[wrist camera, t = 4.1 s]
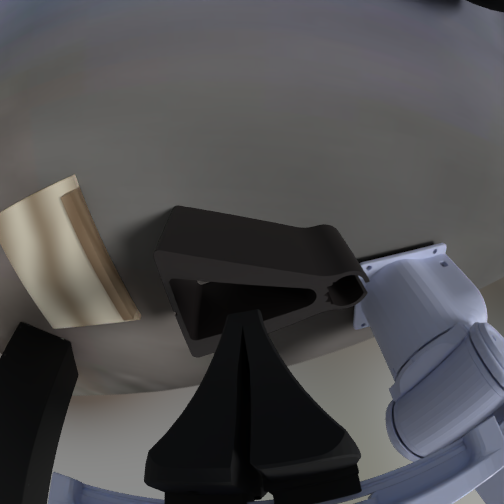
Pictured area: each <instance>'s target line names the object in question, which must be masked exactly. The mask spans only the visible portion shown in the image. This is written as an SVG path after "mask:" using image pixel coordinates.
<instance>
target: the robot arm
mask: <svg viewBox="0 0 504 504" xmlns="http://www.w3.org/2000/svg"><path fill="white" fill-rule="evenodd" d="M445 252H446V245H445V244H444V243H439V244H435V245H431V246H427V247H423V248H419V249H415V250H411V251H407V252H403V253H399V254H395V255H391V256H386V257H382V258H378V259H374V260H369V261H365V262H361V263H359V264H360V265H361V267H362V268H363V270H364V272H365V273H366V275H367V276H368V278H369V280H370V282H367V283H365V281H364V280H363V278H362V277H360V276H358V277H359V278H360V280H361V282H362V284H363V285H364V287H365V289H366V291H367V292H368V293H367V295H366V296H365V298H364V299H363V300H362V301H360V302H359V303H358V304H356V305H355V307H354V319H353V327H354V329H361V328H365V327H368V326H370V328H371V330H372V332H373V334H374V336H375V339H376V341H377V343H378V345H379V347H380V349H381V351H382V354H383V356H384V358H385V360H386V362H387V365H388V367H389V369H390V371H391V374H392V376H393V378H394V381H395V383H394V385H393V386H392V387H391V388H389V391H390V393H391V395H392V398H393V400H392V401H391V402H390V404H389V405H388V407H387V410H386V428H387V433H388V436H389V439H390V441H391V443H392V444H393V446H394V448H395V449H396V450H397V451H398V452H399V453H400V454H401V455H402V456H404V457H405V458H407V459H408V460H411V461H413V463H411V464H408V465H406V466H403V467H401V468H398V469H396V470H394V471H391V472H388V473H385V474H382V475H380V476H377V477H374V478H371V479H368V480H364V481H361V482H360V481H359V476H358V473H359V470H358V466H357V462H358V461H359V459H360V458H361V453H360V451H359V449H358V447H357V445H356V443H355V442H354V441H353V439H352V438H351V436H350V435H349V434H348V432H347V431H346V430H345V429H344V428H343V427H342V426H341V425H339V424H338V423H337V422H336V421H335V420H334V419H333V418H331V417H330V416H329V415H328V414H327V413H326V412H325V411H324V410H323V409H322V408H321V407H320V406H319V405H318V404H317V403H316V402H315V401H314V400H313V399H312V398H311V396H310V395H309V394H308V393H307V392H306V391H305V390H304V388H303V387H302V386H301V385H300V384H299V382H298V381H297V380H296V379H295V377H294V376H293V375H292V373H291V372H290V370H289V369H288V367H287V366H286V365H285V363H284V361H283V360H282V358H281V357H280V355H279V353H278V352H277V350H276V348H275V346H274V345H273V343H272V341H271V339H270V337H269V335H268V333H267V330H266V328H265V326H264V322H263V318H262V314H261V311H260V310H258V309H256V310H251V311H245V312H239V313H234V314H229V315H228V316H227V317H226V322H225V325H224V329H223V332H222V335H221V338H220V341H219V344H218V346H217V349H216V351H215V354H214V357H213V359H212V361H211V363H210V366H209V368H208V370H207V372H206V374H205V376H204V378H203V380H202V382H201V384H200V386H199V387H198V389H197V391H196V393H195V394H194V396H193V398H192V399H191V401H190V402H189V404H188V405H187V407H186V408H185V410H184V411H183V413H182V414H181V415H180V417H179V418H178V419H177V420H176V422H175V423H174V424H173V425H172V427H171V428H170V429H169V430H168V432H167V433H166V434H165V435H164V436H163V437H162V438H161V439H160V440H159V441H158V442H157V443H156V444H155V445H154V446H153V447H152V448H151V449H150V450H149V452H148V456H147V460H146V466H145V476H144V482H145V483H146V484H147V485H148V486H150V487H152V488H155V489H158V490H160V491H163V492H165V500H161V499H153V498H146V497H140V496H134V495H129V494H123V493H119V492H114V491H109V490H105V489H101V488H97V487H93V486H90V485H86V484H83V483H82V482H80V481H78V480H75V479H73V478H70V477H68V476H65V475H62V474H59V473H56V472H53V475H52V480H51V487H50V493H49V500H48V504H338V503H342V502H345V501H349V500H353V499H356V498H360V497H363V496H366V495H369V494H371V495H370V496H369V497H368V500H364V501H361V502H358V503H355V504H453V503H454V502H456V501H458V500H459V499H461V498H462V497H464V496H465V495H467V494H468V493H469V492H471V491H472V490H474V489H475V490H476V491H477V492H478V494H479V495H480V496H481V498H482V499H483V501H484V502H485V503H486V504H504V338H503V337H502V336H501V334H500V333H498V331H497V330H496V329H494V327H492V326H491V325H490V324H488V323H487V309H486V305H485V302H484V299H483V297H482V295H481V293H480V291H479V290H478V289H477V287H476V286H475V285H474V284H473V283H472V282H471V281H470V279H469V278H468V277H467V276H466V275H465V274H464V273H463V272H462V271H461V270H460V268H459V267H458V266H457V265H456V264H455V263H454V262H453V261H452V260H451V259H450V258H449V257H448V256H447V255H446V254H445ZM367 266H369V267H368V268H367ZM267 492H269V493H271V494H272V495H273V498H274V500H266V501H254V500H260V499H261V498H262V497H264V495H266V493H267Z"/></svg>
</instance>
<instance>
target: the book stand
mask: <svg viewBox="0 0 504 504" xmlns="http://www.w3.org/2000/svg"><path fill="white" fill-rule="evenodd" d="M0 244H1V246H2V247H3V249H4V251H5V253H6V255H7V257H8V259H9V261H10V263H11V264H12V266H13V268H14V270H15V271H16V273H17V275H18V277H19V278H20V280H21V282H22V283H23V285H24V286H25V288H26V290H27V291H28V293H29V294H30V296H31V297H32V299H33V300H34V302H35V303H36V305H37V306H38V308H39V309H40V311H41V312H42V314H43V315H44V316H45V318H46V319H47V321H48V322H49V323H50V325H51V326H52V327H53V329H58V328H69V327H80V326H90V325H99V324H108V323H117V322H125V321H133V320H140V319H141V314H140V312H139V311H138V309H137V307H136V305H135V304H134V302H133V300H132V298H131V297H130V295H129V293H128V291H127V289H126V287H125V286H124V284H123V282H122V280H121V278H120V276H119V274H118V272H117V270H116V268H115V266H114V264H113V262H112V260H111V258H110V256H109V254H108V252H107V250H106V248H105V246H104V244H103V242H102V239H101V237H100V235H99V233H98V231H97V228H96V226H95V224H94V221H93V219H92V217H91V214H90V212H89V210H88V207H87V205H86V202H85V200H84V197H83V195H82V192H81V189H80V187H79V184H78V181H77V179H76V176H75V174H74V175H72V176H70V177H67V178H65V179H63V180H61V181H59V182H56V183H54V184H52V185H50V186H48V187H46V188H44V189H42V190H40V191H38V192H36V193H34V194H32V195H30V196H28V197H26V198H24V199H23V200H21V201H19V202H17V203H15V204H13V205H12V206H10V207H8V208H6V209H5V210H3V211H1V212H0Z"/></svg>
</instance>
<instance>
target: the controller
mask: <svg viewBox="0 0 504 504" xmlns="http://www.w3.org/2000/svg"><path fill="white" fill-rule="evenodd" d="M467 1H469V2H471V3H473V4H476V5H479V6H482V7H485V8H488V9H491V10H495V11H499V12H504V0H467Z"/></svg>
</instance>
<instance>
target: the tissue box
mask: <svg viewBox="0 0 504 504" xmlns="http://www.w3.org/2000/svg"><path fill="white" fill-rule="evenodd" d="M77 378H78V371H77V368H76V364H75V360H74V356H73V351H72V347H71V343H70V342H68V341H66V340H64V339H63V338H62V339H61V338H59V337H56V336H54V335H51V334H49V333H46V332H44V331H41V330H39V329H37V328H34V327H32V326H30V325H29V324H24V323H22V322H20V324H19V326H18V327H17V329H16V331H15V332H14V334H13V336H12V338H11V339H10V341H9V343H8V345H7V347H6V348H5V350H4V352H3V354H2V356H1V358H0V504H47V498H48V492H49V485H50V480H51V474H52V468H53V464H54V459H55V455H56V450H57V446H58V442H59V438H60V434H61V430H62V427H63V423H64V420H65V416H66V413H67V409H68V406H69V403H70V399H71V396H72V393H73V390H74V387H75V384H76V381H77Z"/></svg>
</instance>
